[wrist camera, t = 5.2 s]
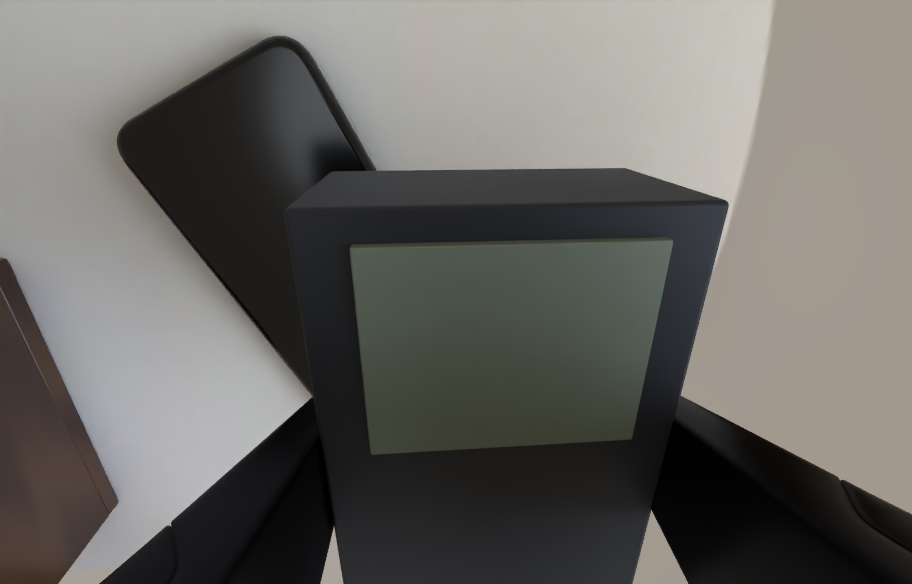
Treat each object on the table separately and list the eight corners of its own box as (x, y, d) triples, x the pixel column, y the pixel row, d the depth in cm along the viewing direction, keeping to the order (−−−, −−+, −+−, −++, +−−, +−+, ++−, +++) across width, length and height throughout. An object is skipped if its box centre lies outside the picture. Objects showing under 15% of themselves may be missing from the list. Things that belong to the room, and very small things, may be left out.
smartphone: (113, 134, 16) (350, 432, 22) (96, 136, 15) (347, 445, 21) (297, 24, 15) (490, 367, 21) (290, 19, 14) (493, 378, 20)
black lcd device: (576, 495, 12) (628, 625, 9) (367, 509, 11) (350, 651, 8) (627, 167, 8) (741, 203, 5) (329, 171, 8) (277, 211, 5)
